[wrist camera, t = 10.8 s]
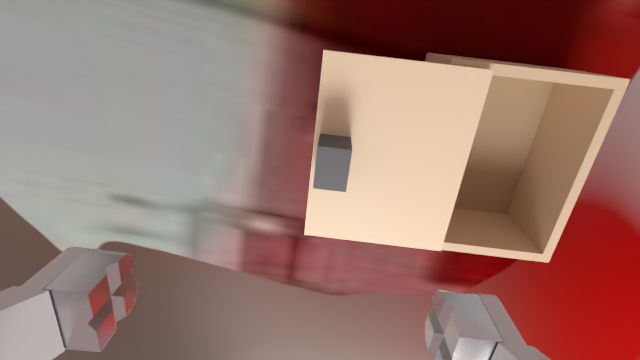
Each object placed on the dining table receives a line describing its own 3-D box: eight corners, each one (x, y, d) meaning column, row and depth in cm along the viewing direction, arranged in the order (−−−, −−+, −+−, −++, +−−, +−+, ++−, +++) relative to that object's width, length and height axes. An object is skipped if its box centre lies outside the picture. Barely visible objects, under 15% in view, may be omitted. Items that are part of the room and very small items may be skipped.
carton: (426, 52, 40) (452, 58, 31) (564, 68, 40) (630, 79, 31) (393, 204, 48) (406, 245, 39) (508, 218, 48) (548, 262, 39)
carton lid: (323, 49, 31) (321, 52, 27) (490, 69, 31) (515, 75, 27) (304, 230, 39) (300, 256, 34) (439, 246, 39) (451, 274, 34)
